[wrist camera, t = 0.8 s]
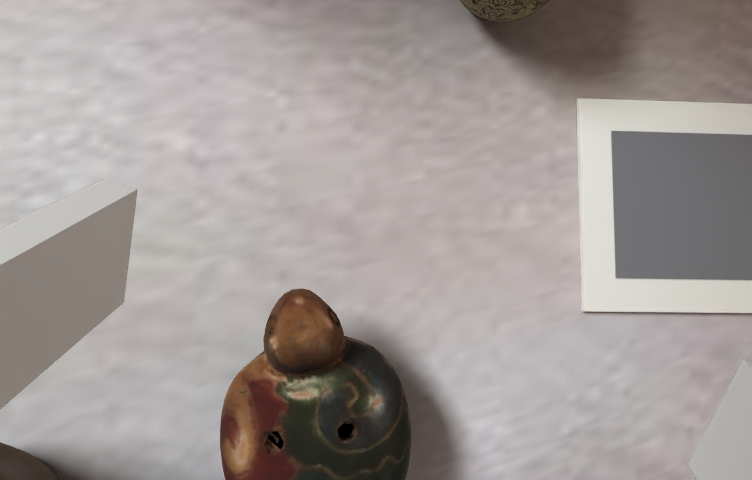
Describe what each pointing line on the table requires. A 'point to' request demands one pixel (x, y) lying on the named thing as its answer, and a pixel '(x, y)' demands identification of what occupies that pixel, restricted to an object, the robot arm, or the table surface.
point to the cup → (503, 8)
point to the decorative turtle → (314, 404)
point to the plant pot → (22, 465)
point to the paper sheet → (665, 206)
